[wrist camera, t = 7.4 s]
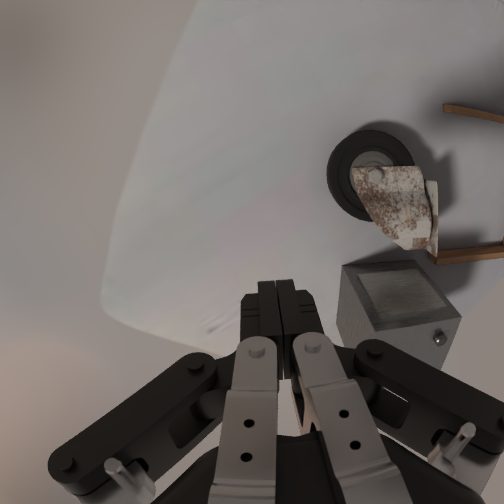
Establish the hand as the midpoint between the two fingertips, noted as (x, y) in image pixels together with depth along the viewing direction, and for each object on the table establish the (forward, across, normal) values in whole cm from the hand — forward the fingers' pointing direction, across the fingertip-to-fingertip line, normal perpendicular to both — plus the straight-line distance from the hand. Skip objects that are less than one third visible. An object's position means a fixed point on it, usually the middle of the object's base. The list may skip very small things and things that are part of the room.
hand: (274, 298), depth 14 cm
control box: (+18, -13, +13) cm, 26 cm away
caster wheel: (+18, -11, 0) cm, 21 cm away
